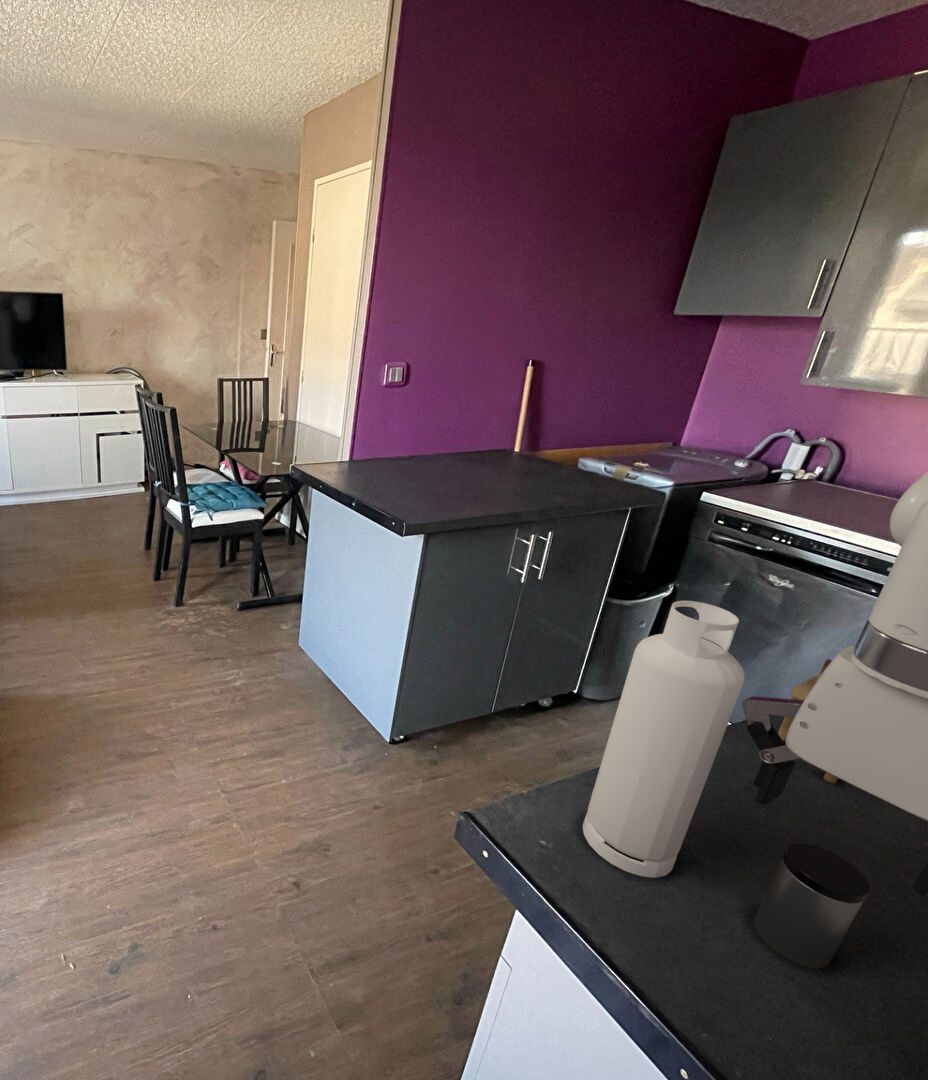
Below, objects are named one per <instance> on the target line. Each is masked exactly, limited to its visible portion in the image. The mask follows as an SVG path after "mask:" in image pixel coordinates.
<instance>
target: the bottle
mask: <svg viewBox="0 0 928 1080" xmlns="http://www.w3.org/2000/svg"><path fill="white" fill-rule="evenodd" d="M682 607H684V608H685V607H687V608H692V609H695V610H696V612H697V613H698V619H696V618H692V617H689V616H687V615H685V614H683V613H681V612H680V611H678V610H677V609H676V608H682ZM739 623H740V619H739V618H738V616H737V615H736V614H734V613H733V612H731V611H729V610H727V609H724V608H722V607H719V606H716V605H714V604H710V603H706V602H702V601H701V602H700V601H694V600H677V601H675V602H672V604H671V607H670V609H669V613H668V617H667V620H666V623H665V626H664V629H663V632H662V633H657V634H653V635H649V636H648V637H647V636H646V637H645V638H643V639H642V640H641V641H640V642H638V644H637V645H636V647H635V649H634V651H633V655H632V658H631V662H630V665H629V669H628V673H627V675H626V679H625V682H624V686H623V689H622V691H621V694H620V695H621V696H620V699H619V701H618V705H617V709H616V713H615V716H614V719H613V722H612V726H611V729H610V733H609V735H608V739H607V743H606V746H605V749H604V752H603V757H602V759H601V763H600V766H599V770H598V773H597V776H596V780H595V783H594V787H593V789H592V793H591V796H590V800H589V803H588V807H587V812H586V814H585V817H584V820H583V824H582V832H583V836H584V838H585V839H586V841H587V843H588V845H589V846H590V847H591V848H592V849H593V850H594V852H596V853H597V854H598V855H599V856H600V857H601V858H603V859H604V860H605V861H607V862H608V863H610V864H611V865H613V866H614V867H617V868H618V869H621V870H622V871H625V872H627V873H629V874H632V875H636V876H640V877H645V878H660V877H665V876H667V875H669V874H670V873H671V872H672V871H673V868H674V867H675V863H676V860H677V859H678V854H679V853H680V850H681V847H682V845H683V842H684V840H685V837H686V835H687V832H688V830H689V827H690V825H691V822H692V819H693V816H694V814H695V811H696V809H697V806H698V804H699V800H700V798H701V795H702V794H703V791H704V787H705V785H706V783H707V780H708V777H709V775H710V772H711V769H712V767H713V764H714V762H715V760H716V759H715V758H716V756H717V754H718V752H719V749H720V746H721V743H722V741H723V739H724V736H725V733H726V730H727V727H728V725H729V723H730V719H731V717H732V715H733V712H734V710H735V707H736V704H737V701H738V699H739V697H740V694H741V691H742V689H743V686H744V683H745V679H746V677H745V676H746V675H745V671H744V668H743V666H742V665H741V663H740V662H739V661H738V659H736V658H735V656H733V654H731V653H730V652H729V650H730V647H731V645H732V641H733V639H734V635H735V633H736V630H737V628H738V625H739ZM606 843H607V844H606ZM612 847H613V848H612ZM620 852H621V853H620ZM624 854H625V855H624ZM626 855H627V856H626ZM628 856H629V857H628ZM630 857H631V858H630ZM633 858H635V859H633ZM637 859H638V860H637ZM640 860H641V861H640Z"/></svg>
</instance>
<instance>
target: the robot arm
mask: <svg viewBox="0 0 928 1080" xmlns="http://www.w3.org/2000/svg"><path fill="white" fill-rule="evenodd" d="M889 531H890V534H891V536H892V538H893V540H894V541H895V542H896V544H898V546H899V547H900V550H899V551H898V553H897V556H896V558H895V560H894V562H893V565H892V567H891V569H890V571H889V573H888V575H887V578H886V580H885V582H884V585H883V587H882V588H881V591H880V592H879V595H878V597H877V599H876V602H875V604H874V605H873V608H872V611H871V612H870V615H869V617H868V618H867V620H866V622H865V624H864V627H863V628H862V631H861V633H860V636H859V638H858V639H857V642H856V644H855V645H848V646H845V647H844V648H843V649H842V650H840V651H839V652H838V654H837V655H836V656H835V657H834V658H833V659H831V660H832V662H831V663H830V664H829V665H828V667H827V668H826V669H825V670H824V672H823V673H822V674H821V676H820V677H819V679H818V680H817V682H816V683H815V685H814V686H813V688H812V689H811V691H810V693H809V694H808V696H807V697H806V699H805V700H794V699H793V698H782V697H781V698H780V697H768V696H767V697H766V696H757V695H755V696H754V695H753V696H750V697H747V698H746V699H744V700H743V701H742V702H741V706H742V709H743V713H744V717H745V721H746V723H747V727H746V729H747V732H748V734H749V736H750V737H751V739H752V740H753V742H754V744H755V745H756V747H757V748H758V750H759V752H758V756H759V759H761V761H762V762H761V765H760V767H759V769H758V772H757V774H756V777H755V778H754V781H753V785H754V786H755V787H757V788H759V789H758V791H757V793H756V796H755V798H754V801H755V802H757V803H758V804H761V805H766V806H767V805H768V804H770V803H772V802H773V801H774V800H776V799H777V798H779V797H781V796H782V794H783V793H784V790H785V788H786V785H787V783H788V781H789V779H790V777H791V775H792V774H793V771H794V768H795V766H796V762H795V761H796V760H801V761H804V762H806V763H807V764H810V765H812V766H813V767H815V768H817V769H819V770H821V771H823V772H825V773H826V772H827V773H829V774H831V775H833V776H835V777H837V778H838V780H842V781H843V782H845V783H847V784H849V785H851V786H854V787H855V788H857V789H860V790H862V791H864V792H865V793H868V794H870V795H871V796H874V797H875V798H878V799H879V800H882V801H884V802H886V803H888V804H890V805H892V806H894V807H896V808H898V809H900V810H902V811H904V812H907V813H908V814H911V815H913V816H915V817H917V818H919V819H921V820H924V821H926V822H928V470H927V471H926V472H925V473H923V474H922V475H921V476H920V477H919V478H918V479H917V480H915V481H914V482H913V483H912V484H911V485H910V486H909V487H908V488H907V489H906V491H904V493H903V494H902V495H901V497H900V498H899V499H898V501H897V502H896V504H895V506H894V508H893V509H892V511H891V515H890V517H889ZM770 716H775V717H776V716H777V717H784V718H785V717H794V720H793V722H792V723H791V725H790V728H789V730H788V733H787V735H786V740H782V739H781V737H780V736H779V734H778V731H777V730H776V728H775V726H774V725H773V724H772V722H771V721H770V719H771V718H770ZM912 889H913V890H914V892H915V893H917V894H918V895H920V896H922V897H924V898H926V897H928V861H927V862H926V863H925V865H924V867H923V869H922V870H921V872H920V874H919V875H918V877H917V879H916V880H915V882H914V883H913V885H912Z"/></svg>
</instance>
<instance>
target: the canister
mask: <svg viewBox="0 0 928 1080" xmlns="http://www.w3.org/2000/svg"><path fill="white" fill-rule="evenodd" d="M871 890H872V886H871V882H870V881H869V879H868V877H867V876H866V875H865V874H864V873H863V871H861V870H860V869H859V868H858V867H857V866H855V865H854V864H853V863H852V862H850V861H849V860H847V859H846V858H844V857H843V856H841V855H839V854H837V853H836V852H833V851H832V850H828V849H826V848H823V847H821V846H818V845H815V844H810V843H806V842H794V843H792V844H789V845H788V846H787V847H786V849H785V851H784V853H783V855H782V860H781V861H780V864H779V866H778V868H777V870H776V872H775V874H774V876H773V878H772V880H771V883H770V885H769V887H768V889H767V891H766V893H765V895H764V897H763V900H762V902H761V904H760V905H759V908H758V910H757V913H756V915H755V917H754V918H753V924H754V928H755V930H756V932H757V933H758V935H759V936H760V938H761V939H762V940H763V941H764V942H765V943H766V944H767V945H768V946H769V947H771V948H772V949H773V950H774V951H776V952H777V953H778V954H780V956H783V957H785V958H786V959H789V961H792V962H794V963H796V964H799V965H801V966H804V967H808V968H813V969H823V968H826V967H827V966H829V964H830V963H831V960H832V958H833V957H834V956H835V953H836V952H837V950H838V948H839V947H840V944H841V943H842V941H843V940H844V937H845V936H846V934H847V932H848V931H849V929H850V926H851V925H852V923H853V922H854V920H855V917H856V916H857V914H858V912H859V910H860V909H861V907H862V905H863V904H864V902H865V901H866V900H867V898H868V897H869V894H870V893H871Z"/></svg>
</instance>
